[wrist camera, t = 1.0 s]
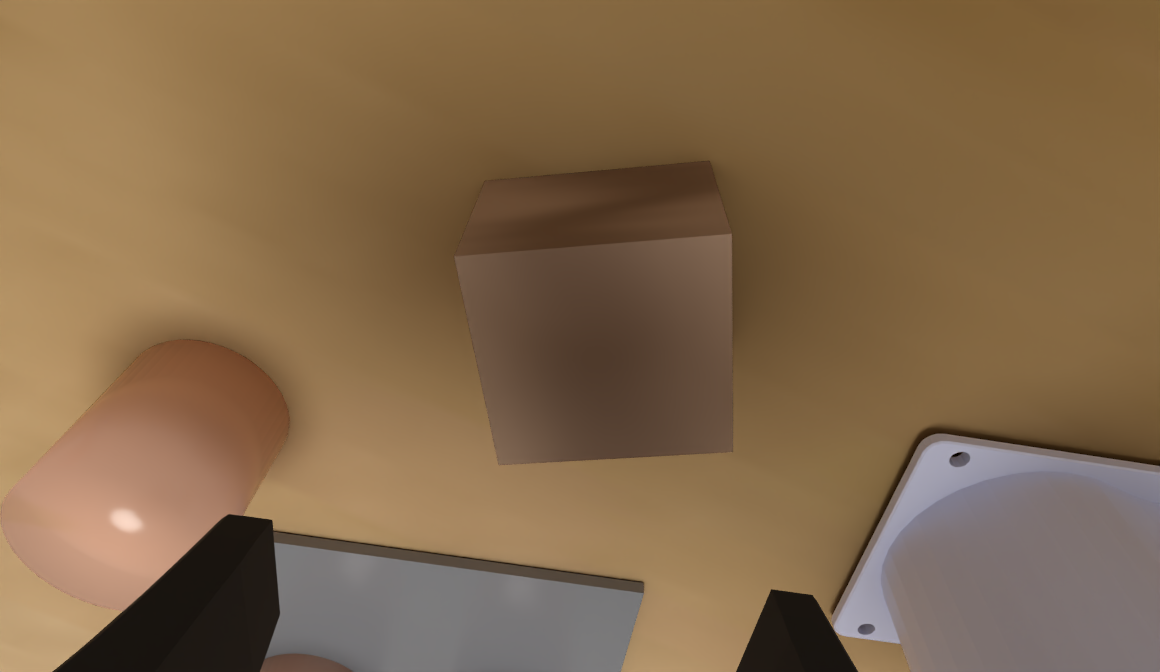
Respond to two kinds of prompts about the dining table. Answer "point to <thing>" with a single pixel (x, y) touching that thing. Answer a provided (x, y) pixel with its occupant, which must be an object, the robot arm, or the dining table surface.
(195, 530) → the rounded peach cylinder
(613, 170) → the walnut block
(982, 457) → the robot arm
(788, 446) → the dining table surface
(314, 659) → the peach domed cylinder
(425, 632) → the slate board
